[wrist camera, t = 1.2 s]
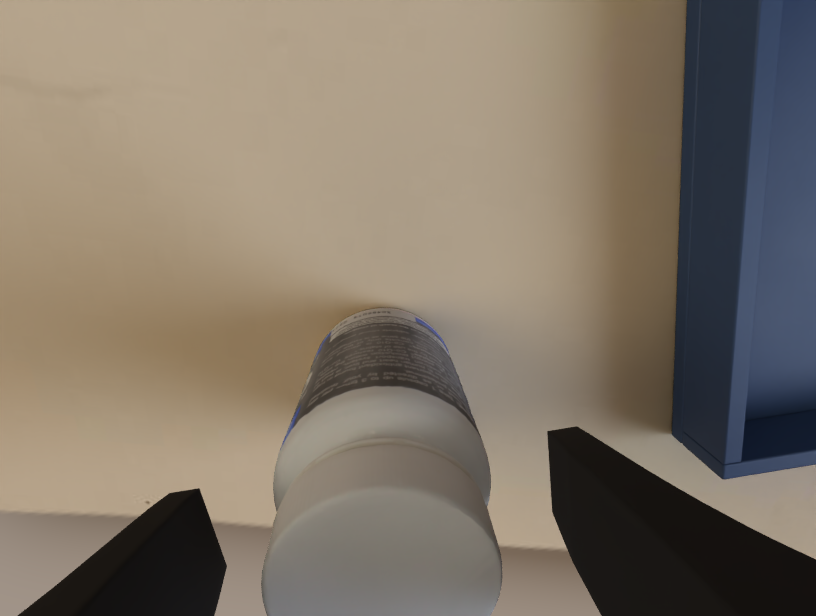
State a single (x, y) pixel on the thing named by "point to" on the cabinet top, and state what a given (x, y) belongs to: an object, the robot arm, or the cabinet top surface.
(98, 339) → the cabinet top surface
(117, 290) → the cabinet top surface
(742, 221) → the blue tray
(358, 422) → the pill bottle
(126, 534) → the robot arm
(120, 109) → the cabinet top surface
